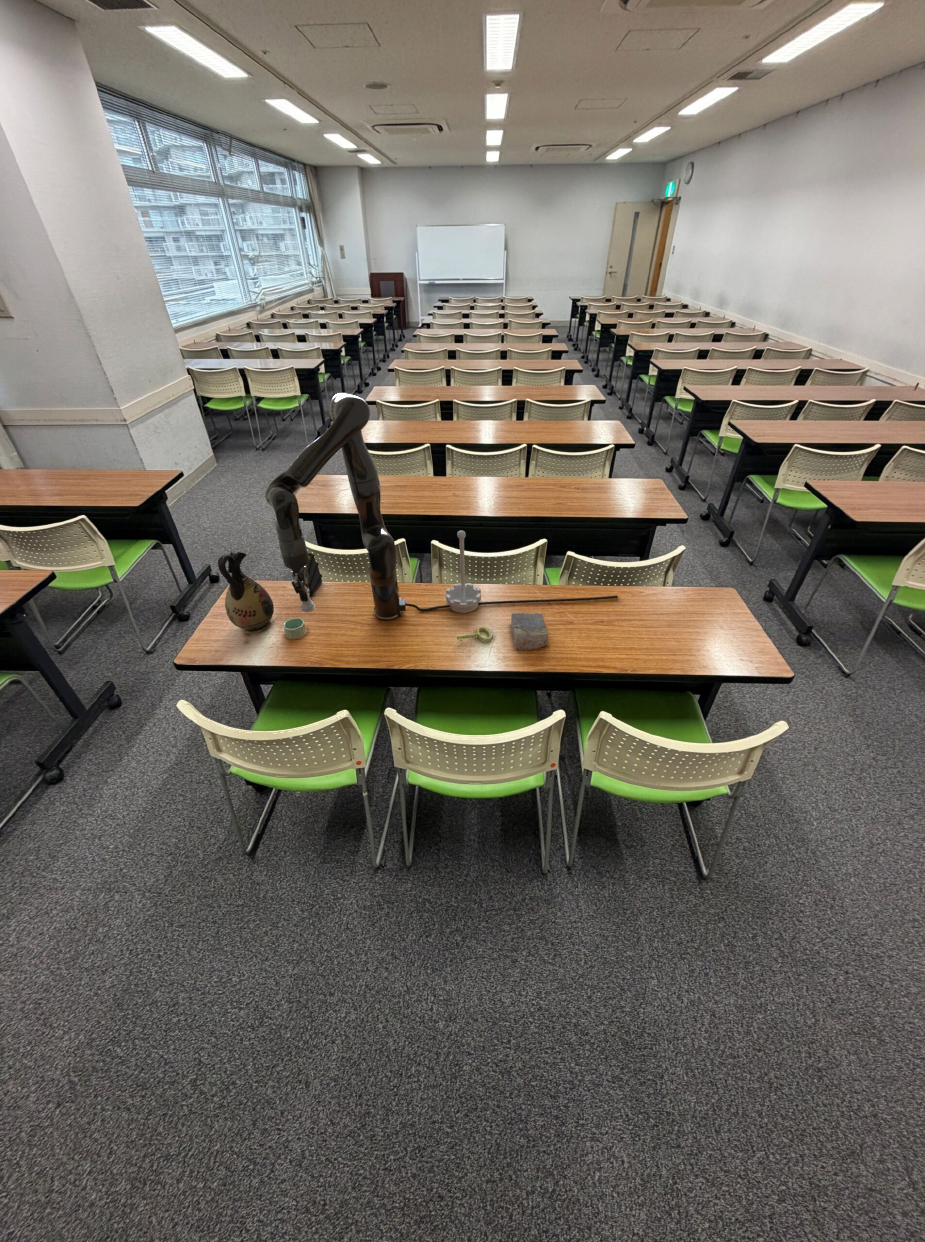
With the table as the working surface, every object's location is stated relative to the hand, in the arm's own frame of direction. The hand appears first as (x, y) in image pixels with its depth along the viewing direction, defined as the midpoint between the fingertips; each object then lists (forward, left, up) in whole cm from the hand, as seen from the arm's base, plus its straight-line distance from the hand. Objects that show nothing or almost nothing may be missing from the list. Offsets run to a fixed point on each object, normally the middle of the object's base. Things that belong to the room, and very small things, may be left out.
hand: (305, 597), depth 165 cm
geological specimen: (-72, +7, -18) cm, 75 cm away
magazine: (+6, -34, -18) cm, 39 cm away
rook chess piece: (0, 0, -5) cm, 5 cm away
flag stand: (-52, -16, -18) cm, 58 cm away
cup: (+8, -6, -18) cm, 20 cm away
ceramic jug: (+23, -11, -18) cm, 32 cm away
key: (-54, +5, -18) cm, 58 cm away
